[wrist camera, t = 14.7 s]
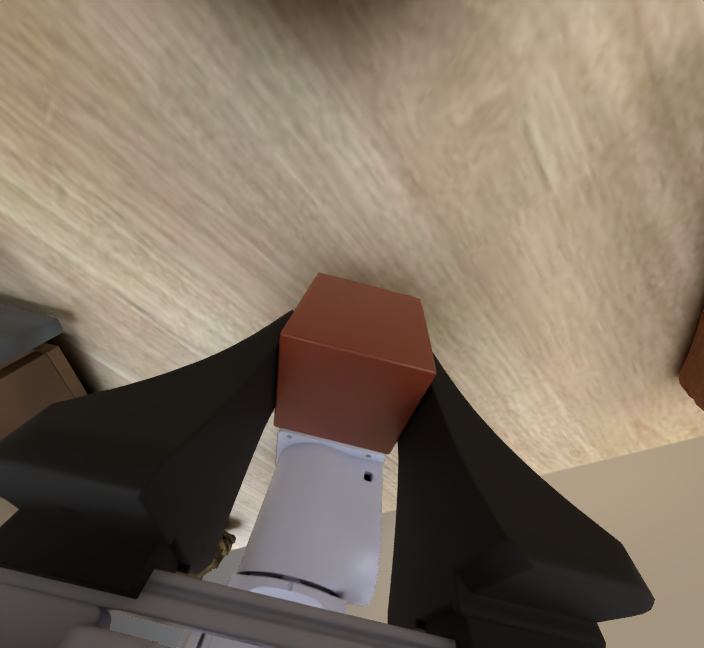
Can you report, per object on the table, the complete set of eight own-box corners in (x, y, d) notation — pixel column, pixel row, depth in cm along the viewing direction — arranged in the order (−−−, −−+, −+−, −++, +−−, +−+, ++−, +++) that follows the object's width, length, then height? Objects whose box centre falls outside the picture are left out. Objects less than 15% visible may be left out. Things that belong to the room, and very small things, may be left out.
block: (421, 298, 10) (438, 373, 7) (389, 371, 13) (389, 456, 9) (318, 271, 10) (279, 333, 7) (306, 350, 13) (272, 426, 9)
